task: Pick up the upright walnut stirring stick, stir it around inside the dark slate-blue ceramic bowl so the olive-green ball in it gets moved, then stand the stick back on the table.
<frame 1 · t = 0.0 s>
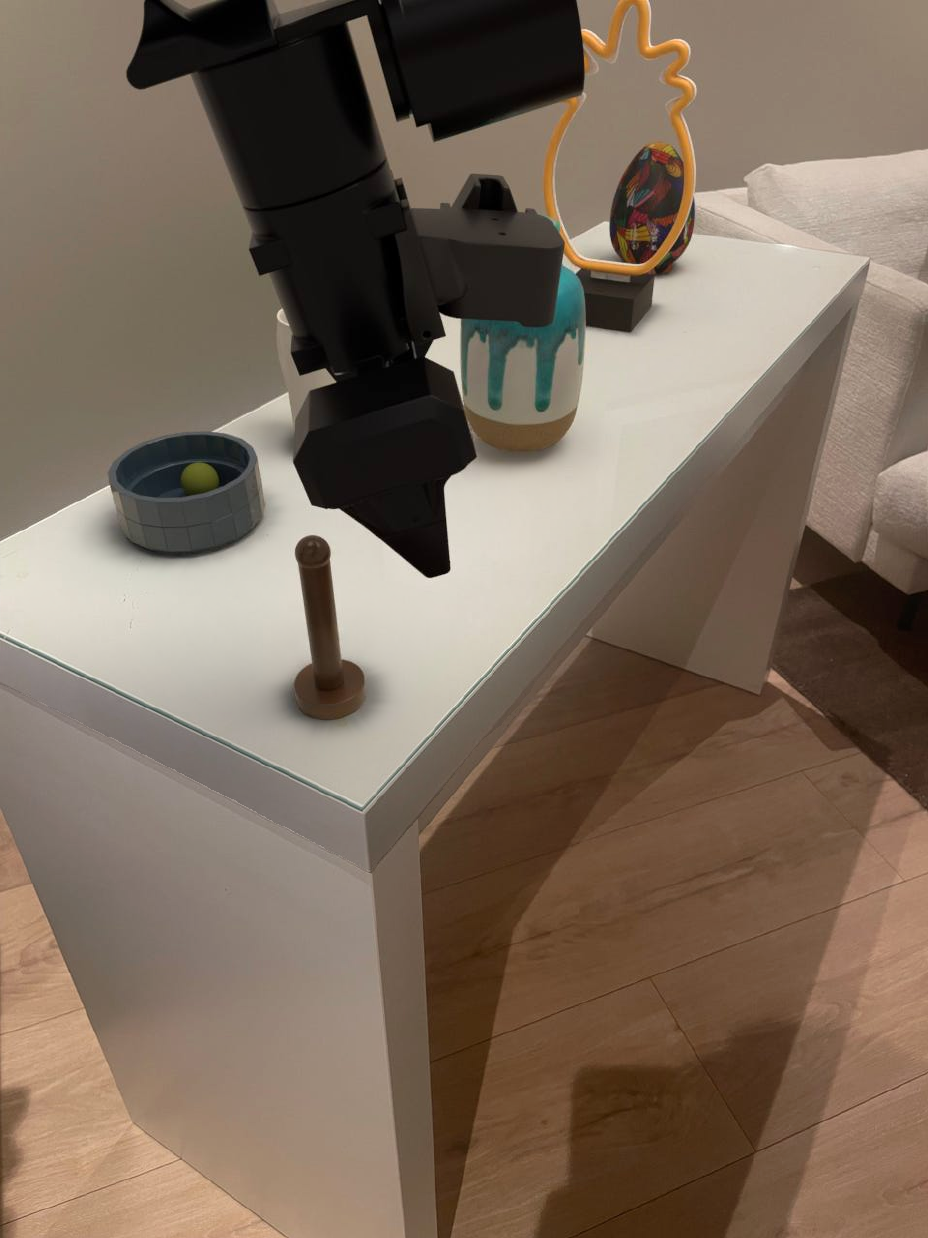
hand: (429, 518, 45), 17 cm above the table, tool pointing down, fingers open, 9 cm apart
stirring stick: (331, 695, 60), on the table
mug: (320, 438, 88), on the table
olive ball: (199, 481, 77), point 2 cm above the table, touching bowl
vase: (519, 443, 87), on the table
egg: (646, 268, 125), on the table
bowl: (195, 519, 77), on the table
lamp: (604, 315, 112), on the table
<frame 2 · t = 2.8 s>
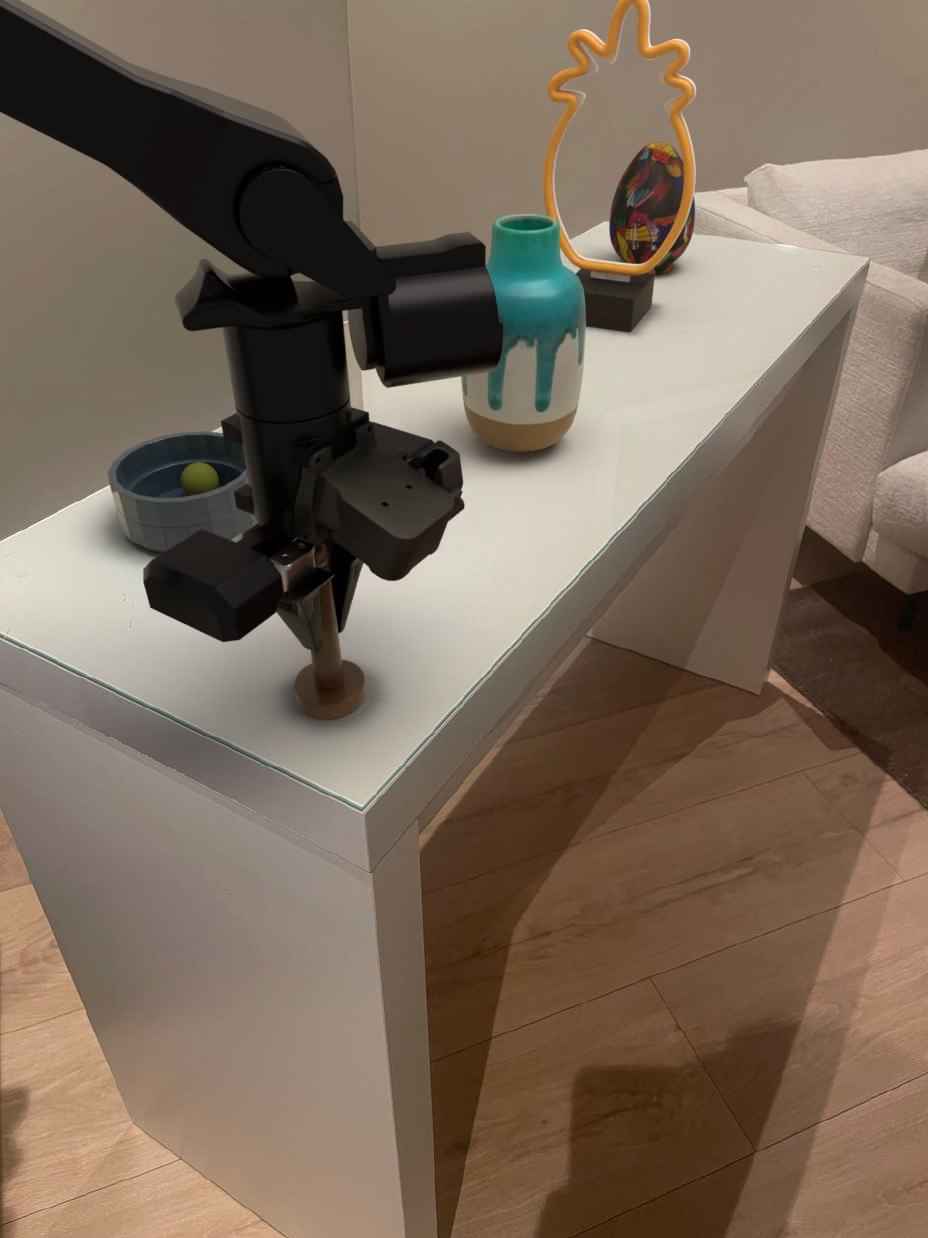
hand: (324, 639, 57), 5 cm above the table, tool pointing down, fingers closed on stirring stick, 2 cm apart
stirring stick: (331, 695, 60), on the table, touching gripper
everything else where it was.
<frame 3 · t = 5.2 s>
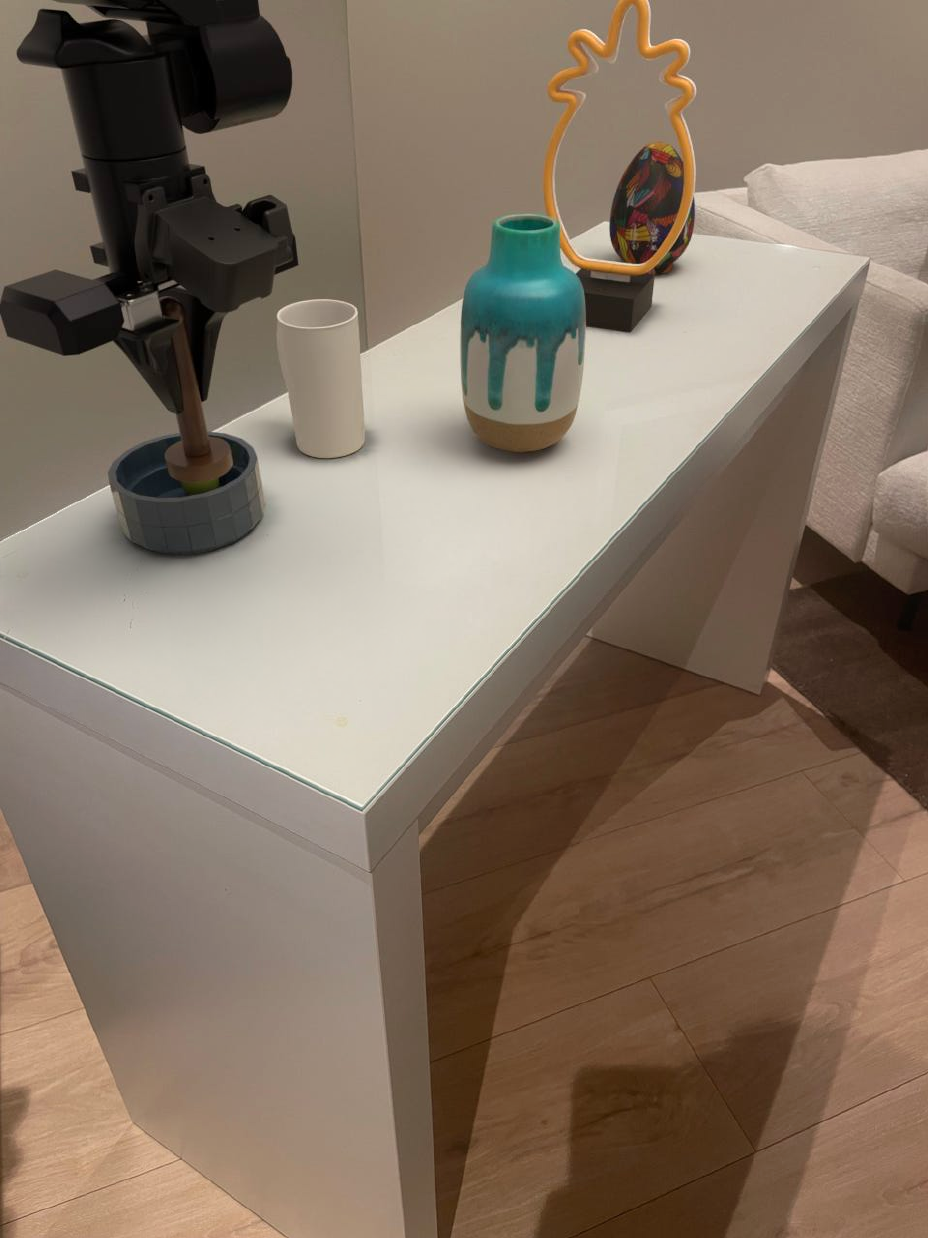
hand: (187, 406, 63), 13 cm above the table, tool pointing down, fingers closed on stirring stick
stirring stick: (200, 466, 66), point 9 cm above the table, touching gripper
everything else where it was.
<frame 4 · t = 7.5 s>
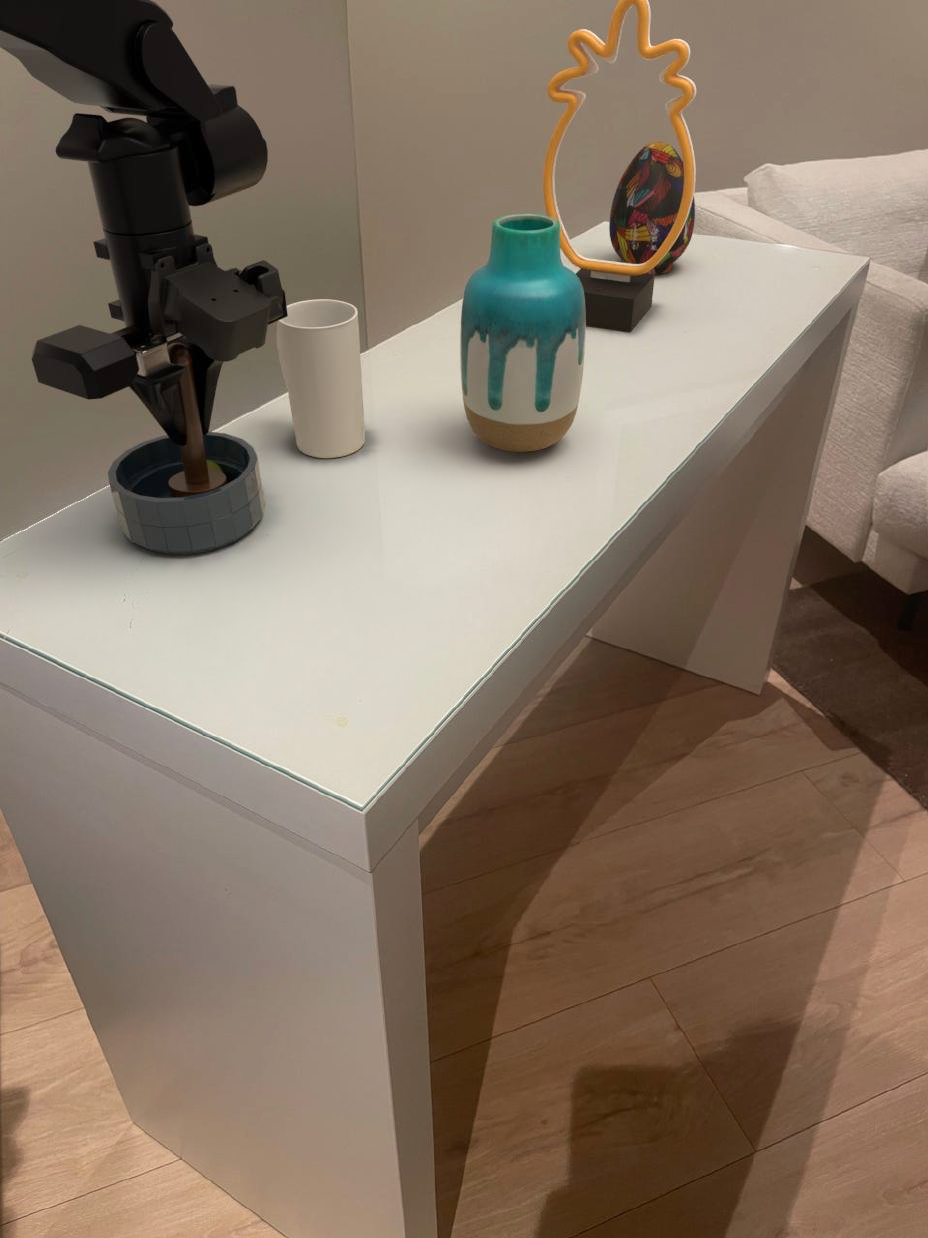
hand: (191, 438, 72), 7 cm above the table, tool pointing down, fingers closed on stirring stick, 2 cm apart
stirring stick: (199, 493, 74), point 3 cm above the table, tilted 5°, touching gripper, olive ball
olive ball: (205, 478, 78), point 2 cm above the table, tilted 22°, touching bowl, stirring stick
everything else where it was.
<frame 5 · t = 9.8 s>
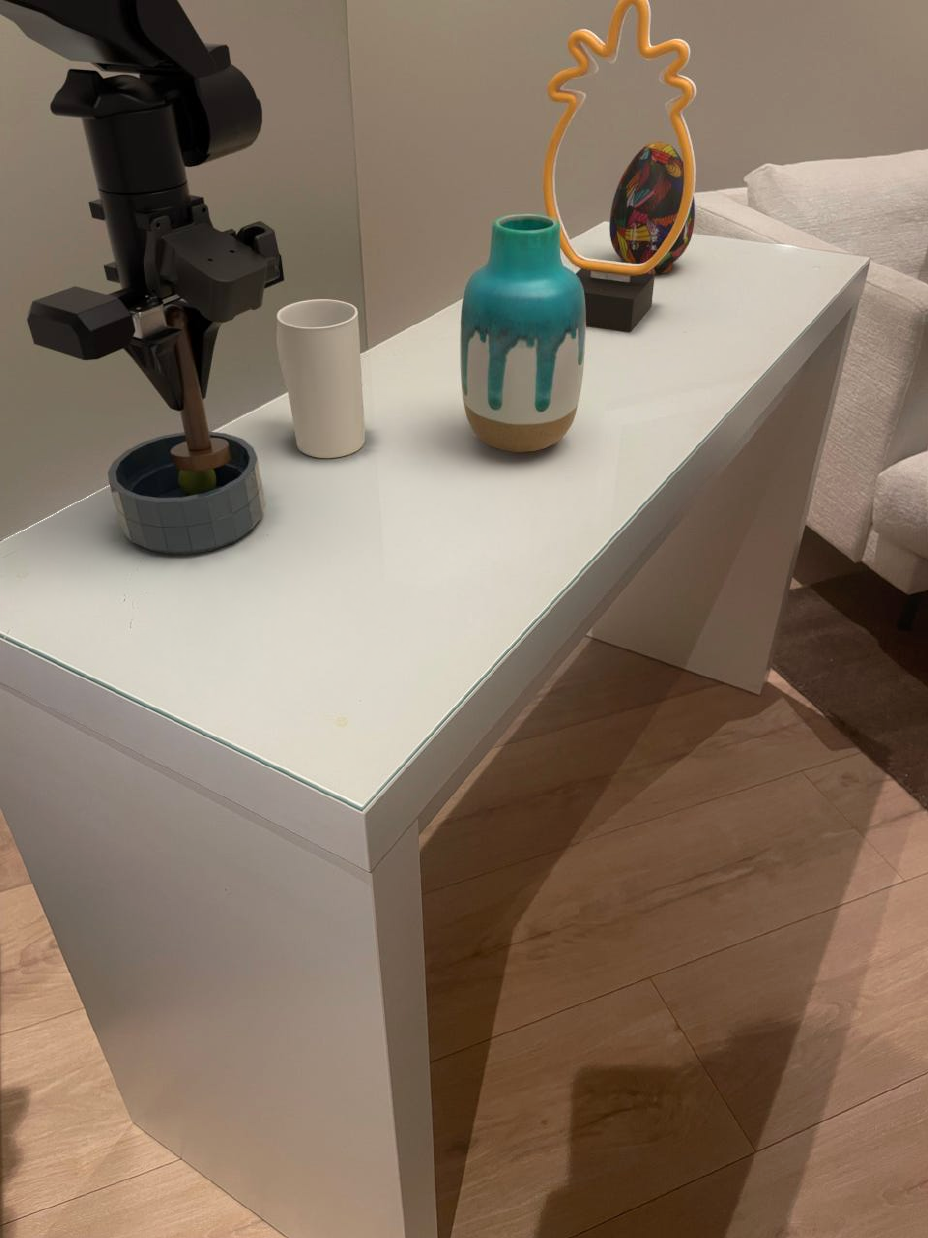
hand: (187, 404, 72), 9 cm above the table, tool pointing down, fingers closed on stirring stick, 2 cm apart
stirring stick: (202, 461, 74), point 5 cm above the table, tilted 9°, touching gripper
olive ball: (197, 478, 78), point 2 cm above the table, tilted 16°, touching bowl
everything else where it was.
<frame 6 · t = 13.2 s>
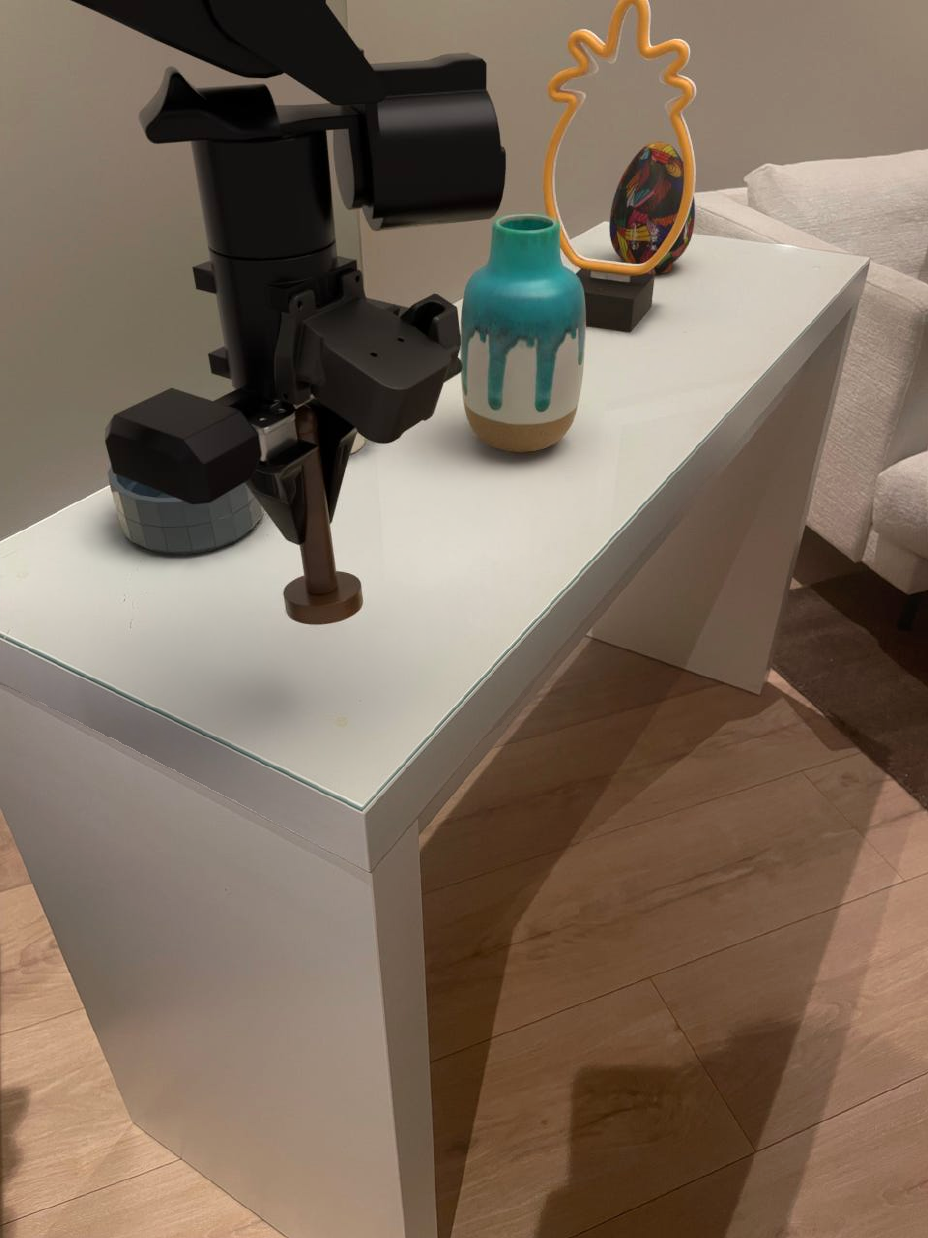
hand: (309, 532, 52), 12 cm above the table, tool pointing down, fingers closed on stirring stick
stirring stick: (324, 606, 54), point 8 cm above the table, tilted 9°, touching gripper
olive ball: (192, 491, 76), point 2 cm above the table, tilted 68°, touching bowl
everything else where it was.
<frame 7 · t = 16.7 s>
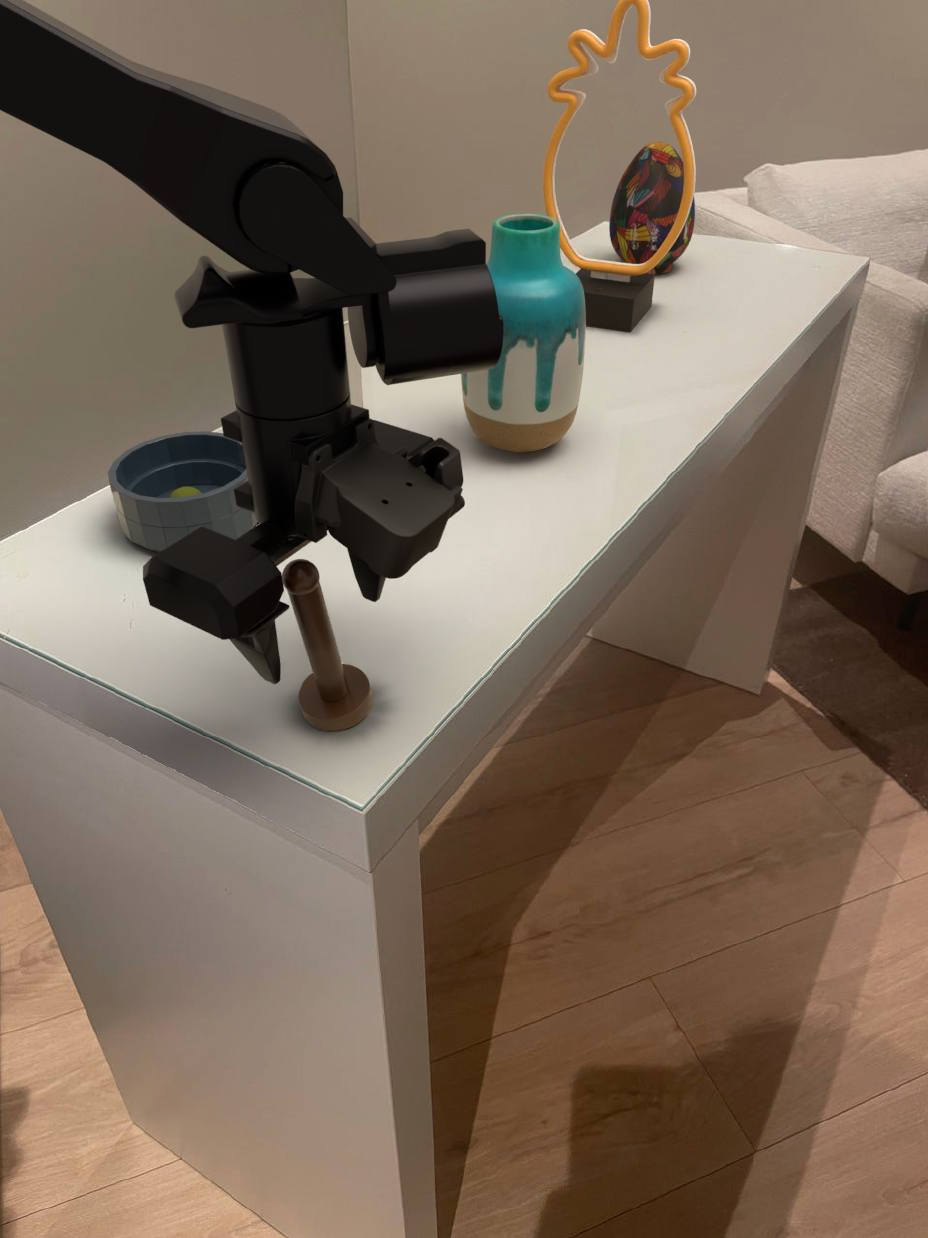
hand: (324, 637, 57), 5 cm above the table, tool pointing down, fingers open, 9 cm apart
stirring stick: (337, 702, 59), on the table, tilted 9°
olive ball: (187, 505, 74), point 2 cm above the table, tilted 148°, touching bowl
everything else where it was.
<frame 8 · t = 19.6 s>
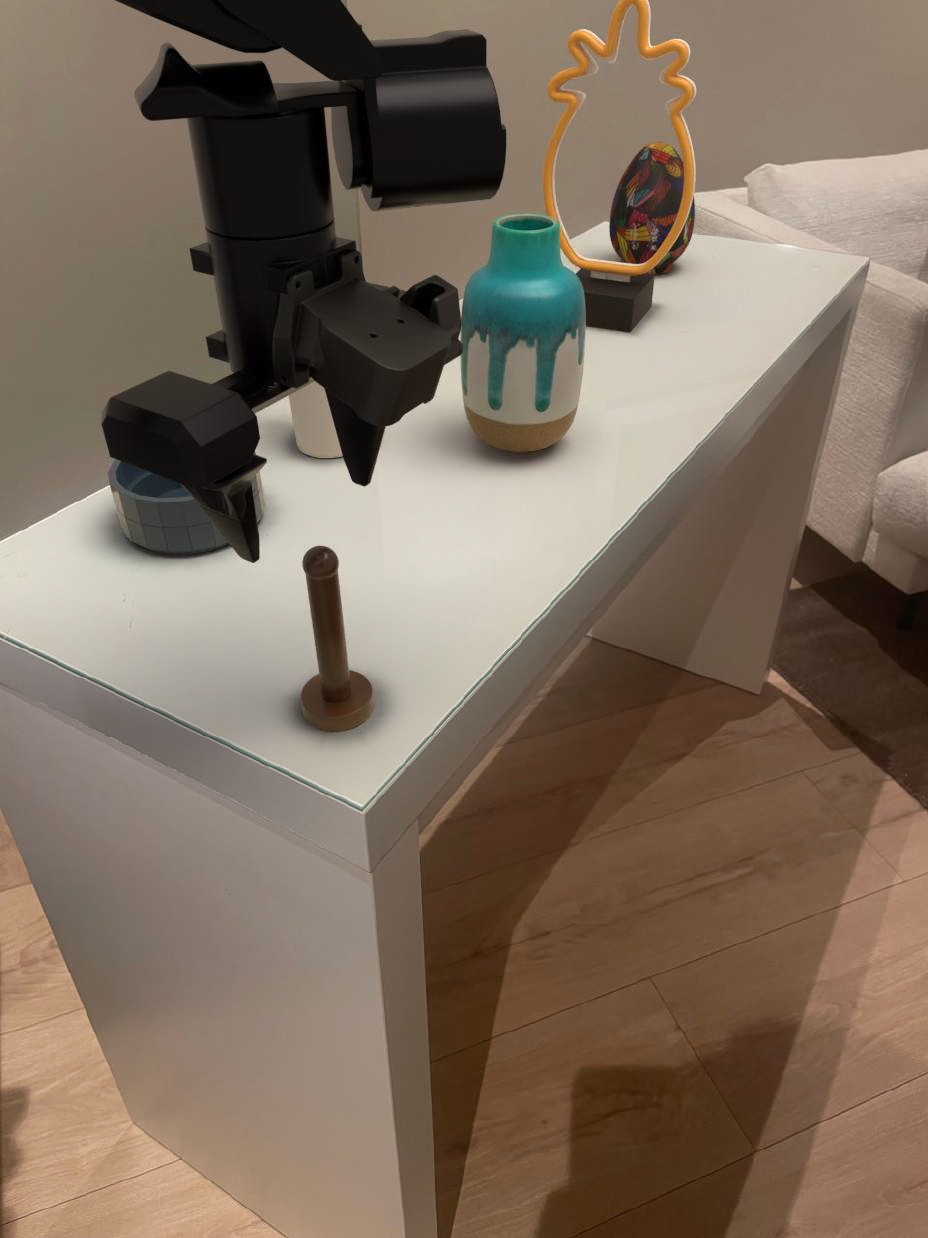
hand: (308, 519, 52), 13 cm above the table, tool pointing down, fingers open, 9 cm apart
stirring stick: (338, 706, 59), on the table
olive ball: (183, 516, 73), point 2 cm above the table, tilted 148°, touching bowl
everything else where it was.
at the end: olive ball moved 5.4 cm from its start; olive ball inside the target area in the bowl (3.0 cm from its centre), point 2.1 cm above the bowl's base; stirring stick tilted 0° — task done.
